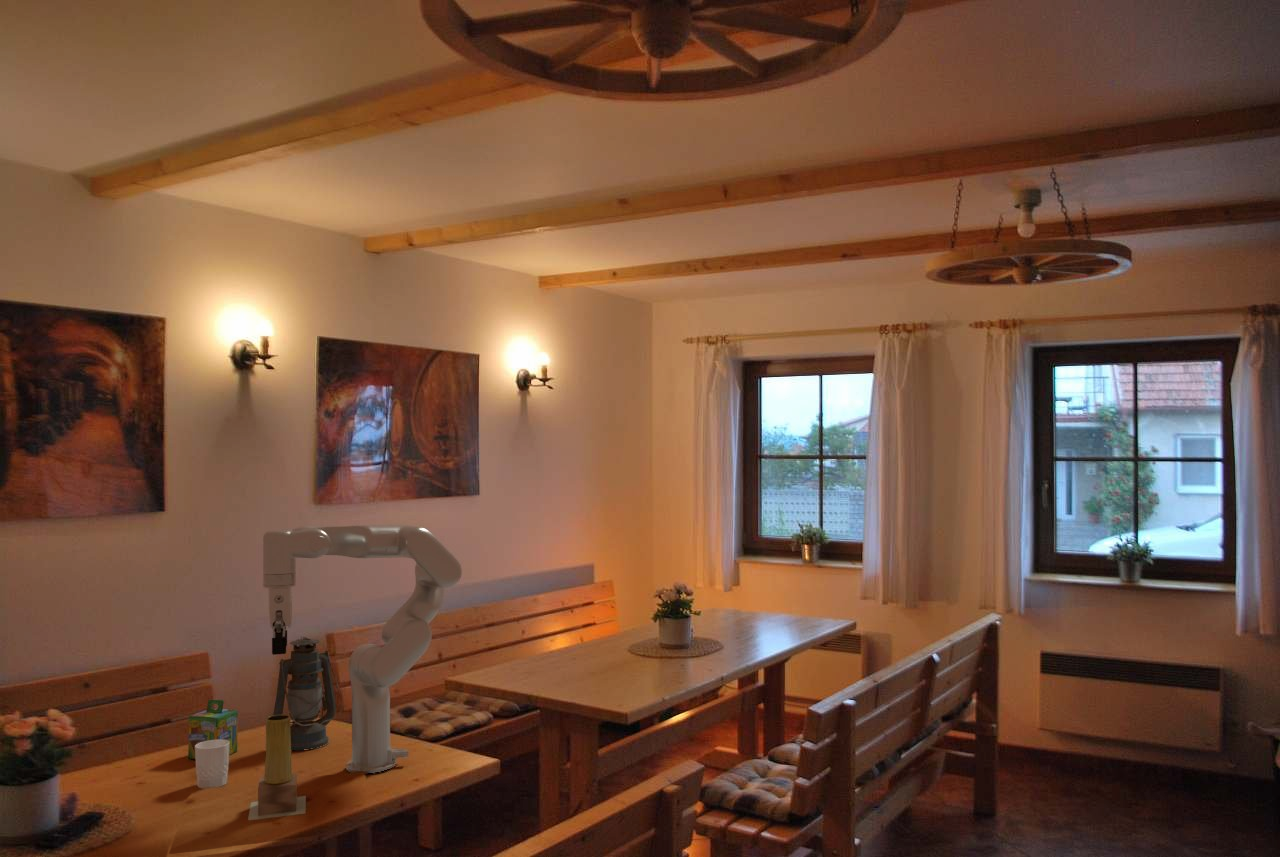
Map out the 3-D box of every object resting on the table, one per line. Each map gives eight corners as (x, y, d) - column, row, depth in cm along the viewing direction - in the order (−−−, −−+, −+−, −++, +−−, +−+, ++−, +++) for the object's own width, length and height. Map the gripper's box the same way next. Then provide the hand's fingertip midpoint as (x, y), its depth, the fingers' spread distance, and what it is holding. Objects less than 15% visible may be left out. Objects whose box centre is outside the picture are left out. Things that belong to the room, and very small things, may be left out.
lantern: (323, 732, 288) (322, 629, 289) (351, 741, 279) (350, 635, 280) (260, 748, 273) (260, 640, 274) (288, 758, 264) (288, 646, 265)
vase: (268, 776, 227) (268, 714, 227) (295, 775, 228) (295, 713, 228) (260, 785, 221) (260, 721, 221) (288, 784, 222) (288, 720, 222)
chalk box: (187, 759, 264) (187, 704, 264) (209, 749, 273) (209, 695, 273) (217, 761, 262) (217, 705, 262) (238, 751, 271) (238, 697, 271)
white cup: (216, 790, 239) (216, 749, 239) (187, 789, 240) (187, 747, 240) (236, 780, 246) (236, 740, 247) (208, 778, 248) (208, 738, 248)
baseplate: (305, 800, 231) (305, 795, 231) (305, 817, 220) (305, 813, 220) (251, 806, 228) (251, 802, 228) (247, 824, 216) (247, 820, 216)
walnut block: (296, 799, 229) (296, 773, 229) (296, 811, 221) (296, 784, 221) (259, 803, 226) (259, 777, 226) (258, 815, 219) (258, 788, 219)
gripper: (295, 583, 235) (295, 655, 235) (296, 575, 251) (296, 643, 251) (261, 585, 233) (261, 658, 232) (264, 577, 249) (264, 645, 249)
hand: (279, 650), depth 242 cm, fingers open, 9 cm apart
